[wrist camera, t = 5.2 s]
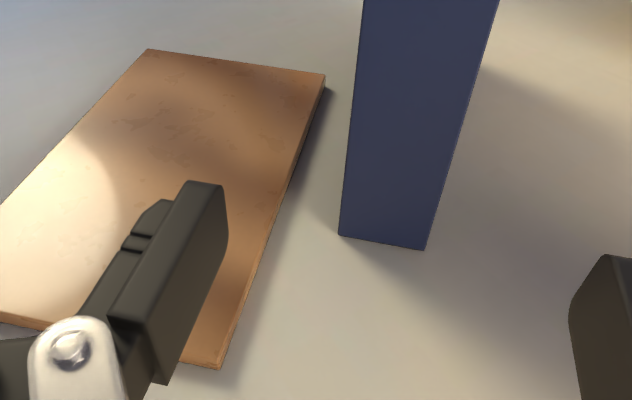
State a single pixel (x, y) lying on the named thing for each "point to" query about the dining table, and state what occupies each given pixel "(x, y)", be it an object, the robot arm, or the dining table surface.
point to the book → (408, 113)
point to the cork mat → (157, 184)
